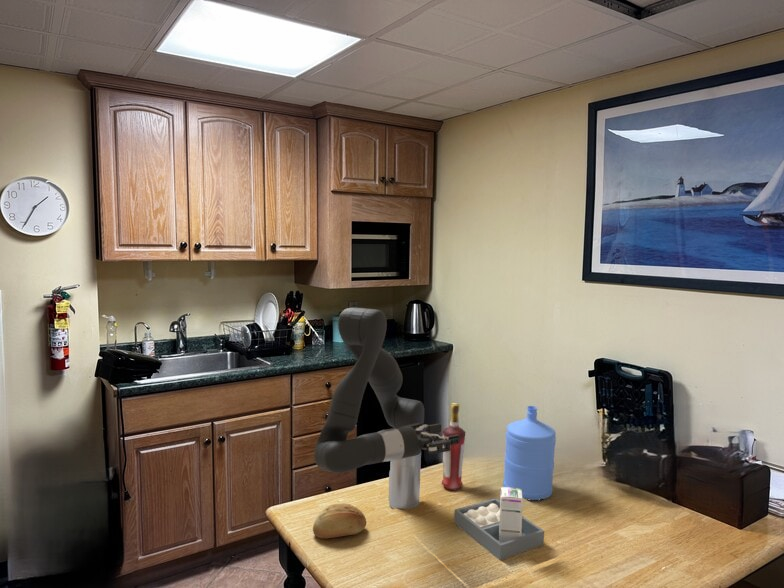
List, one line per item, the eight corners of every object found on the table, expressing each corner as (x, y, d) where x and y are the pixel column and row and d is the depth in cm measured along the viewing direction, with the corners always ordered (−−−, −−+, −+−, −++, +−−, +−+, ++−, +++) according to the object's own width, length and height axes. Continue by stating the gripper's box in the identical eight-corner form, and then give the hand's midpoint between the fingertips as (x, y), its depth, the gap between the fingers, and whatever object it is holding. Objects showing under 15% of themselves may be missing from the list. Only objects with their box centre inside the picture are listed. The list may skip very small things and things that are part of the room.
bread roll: (370, 539, 151) (371, 511, 150) (316, 547, 146) (316, 519, 145) (361, 521, 160) (362, 494, 159) (310, 528, 155) (310, 501, 154)
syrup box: (521, 550, 145) (524, 498, 143) (498, 547, 146) (500, 496, 144) (519, 538, 151) (522, 488, 149) (497, 536, 152) (500, 486, 150)
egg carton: (461, 523, 158) (462, 508, 157) (493, 514, 163) (494, 499, 163) (479, 537, 151) (480, 521, 150) (511, 527, 156) (512, 512, 156)
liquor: (438, 481, 185) (441, 401, 182) (460, 481, 186) (463, 400, 183) (443, 492, 178) (446, 408, 175) (465, 491, 179) (469, 408, 175)
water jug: (558, 502, 173) (563, 416, 170) (508, 501, 173) (512, 415, 170) (545, 480, 189) (550, 400, 185) (499, 478, 189) (503, 399, 185)
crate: (453, 526, 158) (454, 509, 158) (494, 513, 166) (495, 498, 165) (499, 563, 141) (500, 545, 140) (543, 548, 148) (544, 530, 148)
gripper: (410, 439, 129) (466, 428, 137) (381, 419, 141) (434, 410, 149) (409, 469, 130) (465, 457, 137) (381, 447, 142) (433, 437, 150)
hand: (449, 433), depth 143 cm, fingers open, 8 cm apart
